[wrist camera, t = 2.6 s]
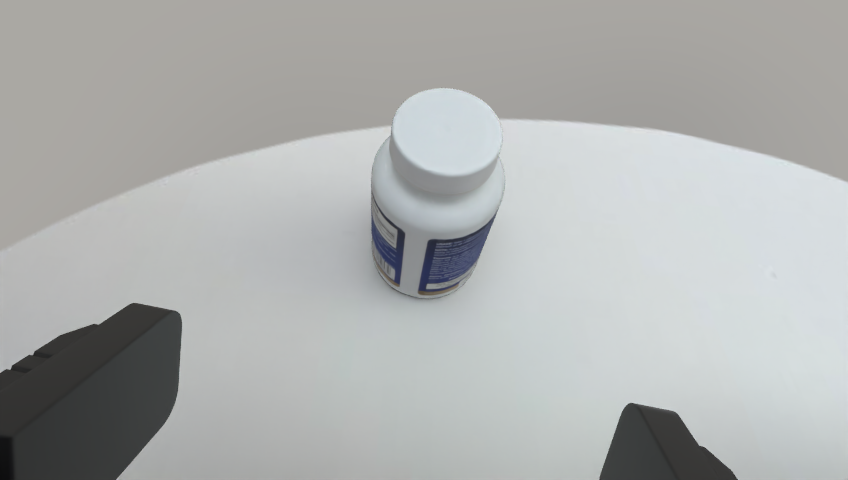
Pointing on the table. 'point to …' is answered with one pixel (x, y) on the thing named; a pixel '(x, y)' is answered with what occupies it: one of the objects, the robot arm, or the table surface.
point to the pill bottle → (435, 191)
